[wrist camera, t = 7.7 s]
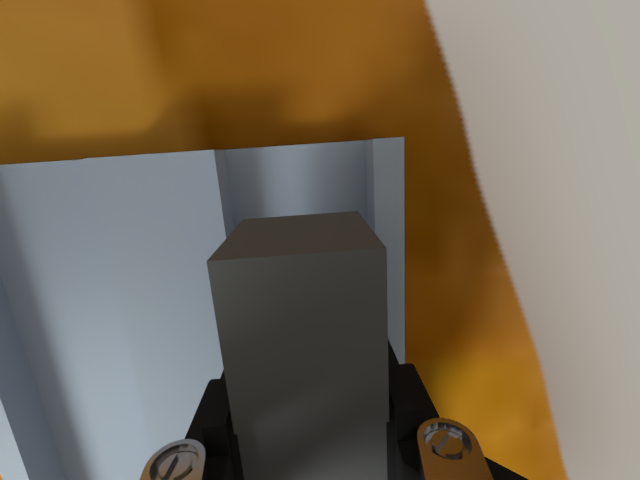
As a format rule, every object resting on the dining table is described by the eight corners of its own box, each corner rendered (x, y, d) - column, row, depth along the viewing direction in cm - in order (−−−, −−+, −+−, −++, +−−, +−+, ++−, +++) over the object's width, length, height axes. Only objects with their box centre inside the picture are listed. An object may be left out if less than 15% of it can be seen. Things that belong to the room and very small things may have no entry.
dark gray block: (243, 219, 11) (206, 261, 7) (357, 211, 11) (386, 248, 7) (278, 495, 13) (266, 636, 10) (367, 488, 13) (392, 625, 10)
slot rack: (65, 481, 17) (24, 537, 14) (-37, 167, 13) (-115, 171, 11) (391, 452, 17) (405, 502, 15) (386, 139, 13) (404, 136, 11)
